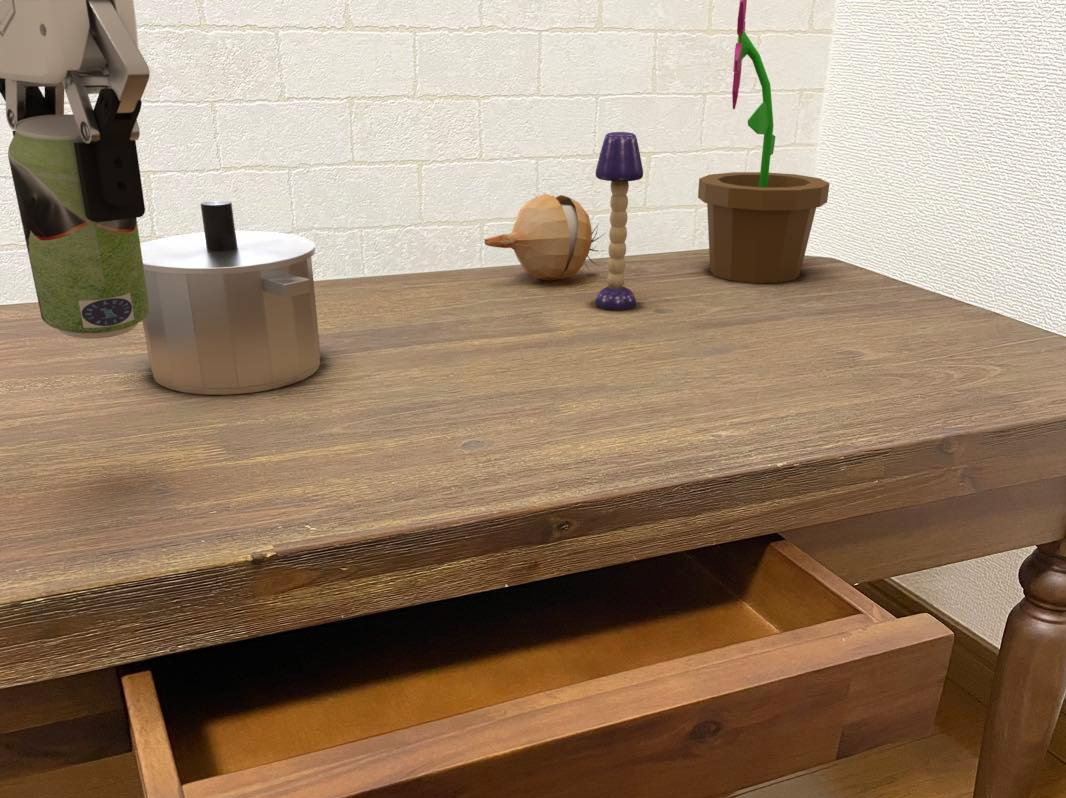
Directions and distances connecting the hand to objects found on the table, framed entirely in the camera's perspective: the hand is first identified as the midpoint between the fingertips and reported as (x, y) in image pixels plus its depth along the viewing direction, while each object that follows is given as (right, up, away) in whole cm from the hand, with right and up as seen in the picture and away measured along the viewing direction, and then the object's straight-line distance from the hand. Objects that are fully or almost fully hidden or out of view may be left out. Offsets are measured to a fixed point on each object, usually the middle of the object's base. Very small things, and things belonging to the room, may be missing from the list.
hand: (84, 207), depth 59 cm
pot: (0, -4, +29) cm, 30 cm away
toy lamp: (+33, +5, +49) cm, 59 cm away
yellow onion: (+26, +10, +59) cm, 65 cm away
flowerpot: (+51, +12, +62) cm, 81 cm away
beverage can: (-1, -7, +4) cm, 7 cm away
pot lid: (0, +4, +25) cm, 25 cm away
